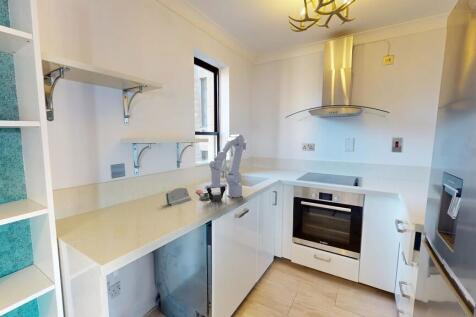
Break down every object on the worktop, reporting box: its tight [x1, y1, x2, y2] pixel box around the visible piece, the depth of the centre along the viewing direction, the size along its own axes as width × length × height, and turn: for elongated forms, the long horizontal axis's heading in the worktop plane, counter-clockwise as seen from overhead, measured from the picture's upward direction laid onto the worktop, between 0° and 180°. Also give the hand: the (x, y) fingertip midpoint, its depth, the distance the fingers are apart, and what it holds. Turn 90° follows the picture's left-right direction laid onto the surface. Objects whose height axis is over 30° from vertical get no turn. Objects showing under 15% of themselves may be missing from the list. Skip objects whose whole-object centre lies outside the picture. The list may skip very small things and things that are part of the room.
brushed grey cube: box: [210, 191, 223, 203], centre depth 140 cm, size 6×6×5 cm
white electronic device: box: [165, 187, 192, 207], centre depth 139 cm, size 17×5×10 cm, turn 145°
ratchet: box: [195, 189, 210, 201], centre depth 153 cm, size 8×25×5 cm, turn 24°
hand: (216, 198), depth 140 cm, fingers open, 7 cm apart
